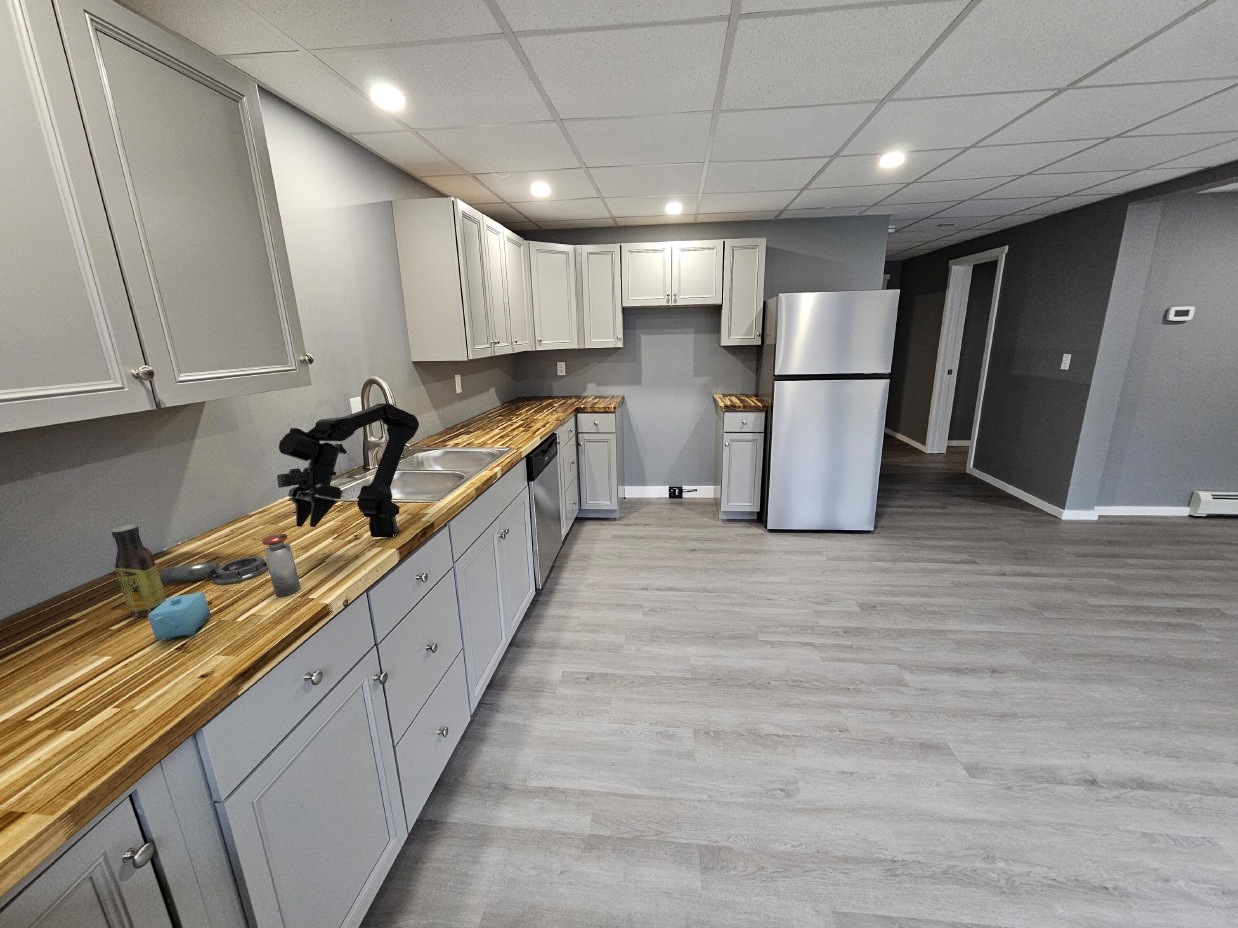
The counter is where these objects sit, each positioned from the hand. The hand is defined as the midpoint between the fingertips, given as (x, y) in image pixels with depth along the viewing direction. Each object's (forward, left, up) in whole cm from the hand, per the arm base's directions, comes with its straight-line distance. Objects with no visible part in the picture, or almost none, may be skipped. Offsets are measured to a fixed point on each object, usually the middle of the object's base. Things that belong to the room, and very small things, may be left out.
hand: (305, 526), depth 120 cm
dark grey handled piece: (+25, -5, -12) cm, 28 cm away
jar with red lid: (+2, +10, -12) cm, 16 cm away
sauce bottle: (+30, +10, -12) cm, 34 cm away
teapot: (+16, +23, -12) cm, 31 cm away
